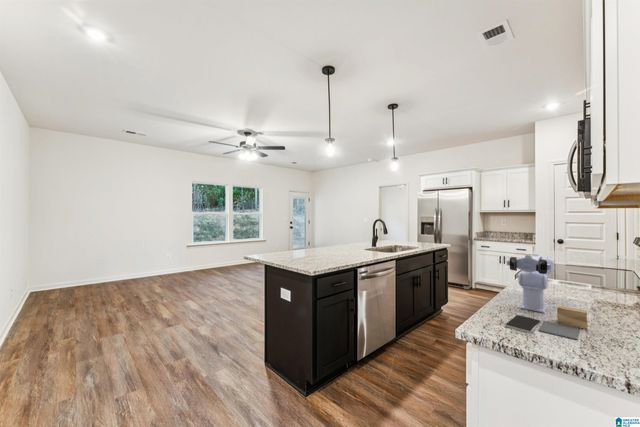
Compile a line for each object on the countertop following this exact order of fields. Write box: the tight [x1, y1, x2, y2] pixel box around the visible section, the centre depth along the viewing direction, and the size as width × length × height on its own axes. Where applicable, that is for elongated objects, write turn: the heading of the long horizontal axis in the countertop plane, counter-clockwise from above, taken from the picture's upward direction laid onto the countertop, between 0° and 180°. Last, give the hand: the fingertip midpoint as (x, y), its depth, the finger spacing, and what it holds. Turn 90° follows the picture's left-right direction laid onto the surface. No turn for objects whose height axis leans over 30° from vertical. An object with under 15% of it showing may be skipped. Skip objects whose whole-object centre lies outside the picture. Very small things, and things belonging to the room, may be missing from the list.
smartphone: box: [505, 314, 542, 334], centre depth 102 cm, size 8×1×15 cm
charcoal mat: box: [538, 320, 580, 341], centre depth 96 cm, size 12×10×1 cm
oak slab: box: [556, 304, 588, 330], centre depth 101 cm, size 4×8×6 cm, turn 44°
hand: (524, 266), depth 105 cm, fingers open, 7 cm apart
